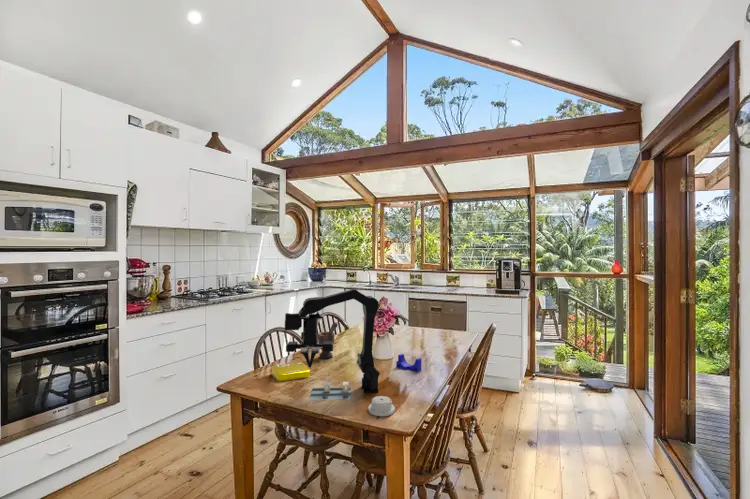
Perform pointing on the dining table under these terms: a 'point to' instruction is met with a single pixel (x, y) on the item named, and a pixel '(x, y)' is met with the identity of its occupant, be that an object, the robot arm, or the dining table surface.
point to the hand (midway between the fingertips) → (310, 367)
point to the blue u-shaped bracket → (404, 365)
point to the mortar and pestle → (327, 337)
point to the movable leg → (327, 387)
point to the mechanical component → (381, 406)
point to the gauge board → (332, 393)
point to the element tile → (290, 371)
